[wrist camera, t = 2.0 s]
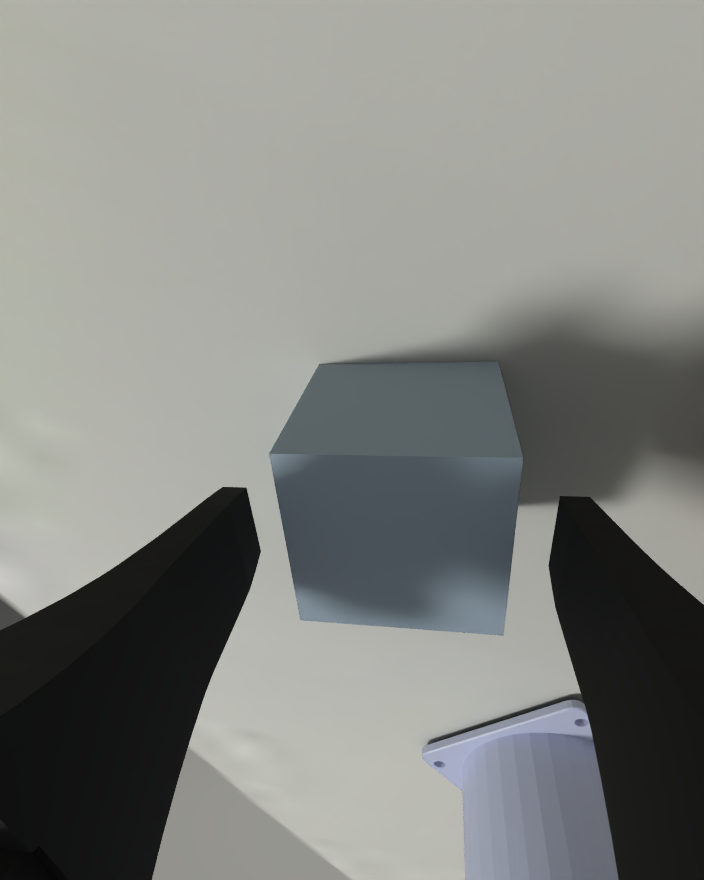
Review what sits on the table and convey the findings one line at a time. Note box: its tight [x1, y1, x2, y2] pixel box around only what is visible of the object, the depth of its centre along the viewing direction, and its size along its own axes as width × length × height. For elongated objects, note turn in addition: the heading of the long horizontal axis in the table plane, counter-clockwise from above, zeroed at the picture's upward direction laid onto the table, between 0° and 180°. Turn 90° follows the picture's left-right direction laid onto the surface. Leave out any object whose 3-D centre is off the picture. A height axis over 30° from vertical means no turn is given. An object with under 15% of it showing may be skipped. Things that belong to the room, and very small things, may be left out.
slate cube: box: [269, 361, 523, 635], centre depth 13 cm, size 5×5×5 cm
